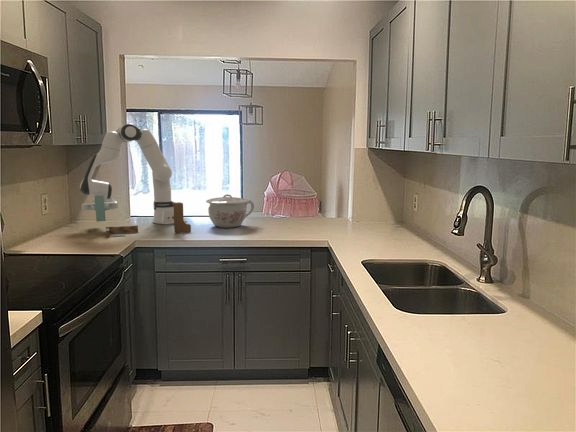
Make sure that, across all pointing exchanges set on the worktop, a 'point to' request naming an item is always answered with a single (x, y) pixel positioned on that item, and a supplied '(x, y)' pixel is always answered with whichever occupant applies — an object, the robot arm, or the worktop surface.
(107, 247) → the worktop surface
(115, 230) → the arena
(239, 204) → the chamber pot
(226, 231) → the worktop surface
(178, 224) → the wooden block
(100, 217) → the painted block
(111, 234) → the pad
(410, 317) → the worktop surface
